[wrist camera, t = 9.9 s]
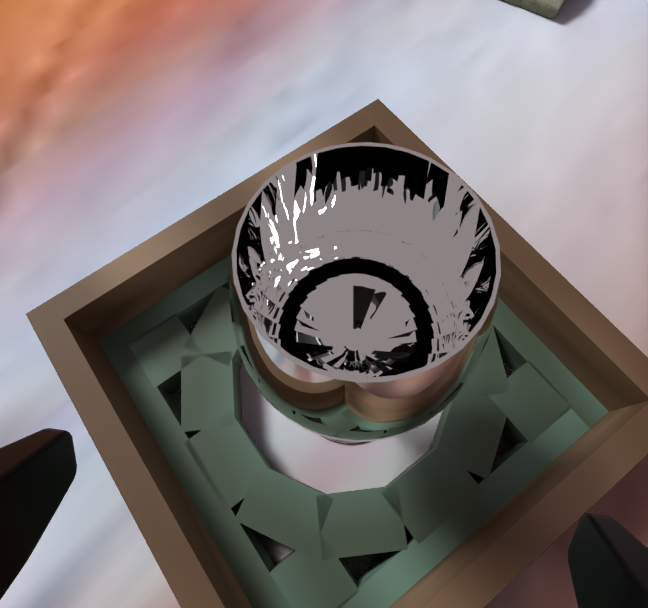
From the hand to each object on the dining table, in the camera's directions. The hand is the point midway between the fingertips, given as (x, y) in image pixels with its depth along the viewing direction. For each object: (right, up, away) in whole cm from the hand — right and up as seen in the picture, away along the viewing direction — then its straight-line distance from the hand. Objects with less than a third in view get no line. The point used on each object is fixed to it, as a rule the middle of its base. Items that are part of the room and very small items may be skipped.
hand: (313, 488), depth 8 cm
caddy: (+1, 0, +11) cm, 11 cm away
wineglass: (+1, 0, +11) cm, 11 cm away
